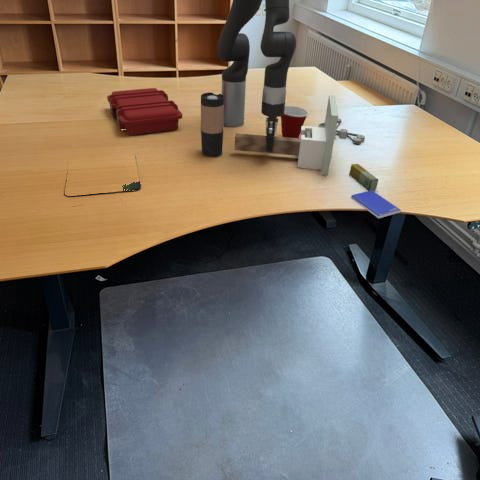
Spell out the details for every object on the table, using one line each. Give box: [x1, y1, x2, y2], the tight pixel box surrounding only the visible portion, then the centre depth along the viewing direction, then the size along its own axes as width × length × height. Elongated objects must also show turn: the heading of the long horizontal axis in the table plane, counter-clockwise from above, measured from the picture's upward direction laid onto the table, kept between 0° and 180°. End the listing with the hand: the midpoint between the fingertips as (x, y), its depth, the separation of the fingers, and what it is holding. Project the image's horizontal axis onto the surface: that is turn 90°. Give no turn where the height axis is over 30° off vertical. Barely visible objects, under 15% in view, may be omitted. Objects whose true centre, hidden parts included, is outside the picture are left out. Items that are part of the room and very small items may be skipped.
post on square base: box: [234, 131, 310, 157], centre depth 150 cm, size 25×7×7 cm, turn 83°
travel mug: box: [200, 91, 224, 158], centre depth 148 cm, size 8×8×20 cm
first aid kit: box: [106, 87, 183, 136], centre depth 175 cm, size 32×23×9 cm
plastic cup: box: [280, 105, 310, 138], centre depth 162 cm, size 11×11×12 cm
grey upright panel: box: [297, 94, 339, 176], centre depth 146 cm, size 10×20×20 cm, turn 173°
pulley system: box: [318, 117, 366, 145], centre depth 174 cm, size 27×5×15 cm
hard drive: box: [350, 190, 402, 219], centre depth 129 cm, size 2×8×12 cm
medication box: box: [348, 163, 379, 192], centre depth 140 cm, size 12×3×4 cm, turn 20°
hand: (269, 149), depth 152 cm, fingers closed on post on square base, 3 cm apart
